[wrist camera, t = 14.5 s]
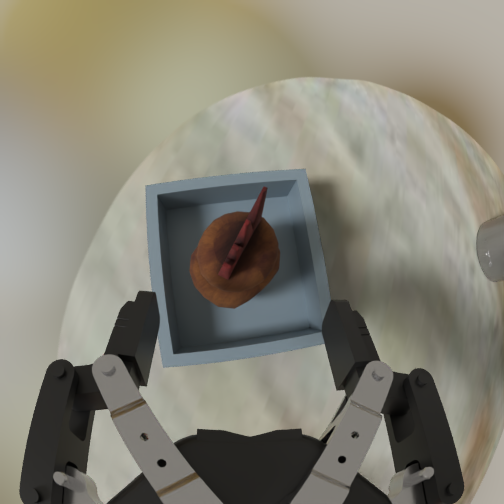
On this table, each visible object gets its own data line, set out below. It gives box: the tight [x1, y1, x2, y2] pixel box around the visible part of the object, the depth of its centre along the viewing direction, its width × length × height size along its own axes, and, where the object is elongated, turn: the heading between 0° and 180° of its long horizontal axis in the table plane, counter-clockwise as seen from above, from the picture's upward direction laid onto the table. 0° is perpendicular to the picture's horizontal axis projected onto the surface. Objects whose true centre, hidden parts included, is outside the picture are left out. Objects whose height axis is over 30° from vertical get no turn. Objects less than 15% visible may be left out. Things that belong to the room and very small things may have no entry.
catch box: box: [146, 169, 331, 368], centre depth 25 cm, size 14×15×5 cm
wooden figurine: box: [189, 186, 280, 309], centre depth 19 cm, size 7×6×15 cm
